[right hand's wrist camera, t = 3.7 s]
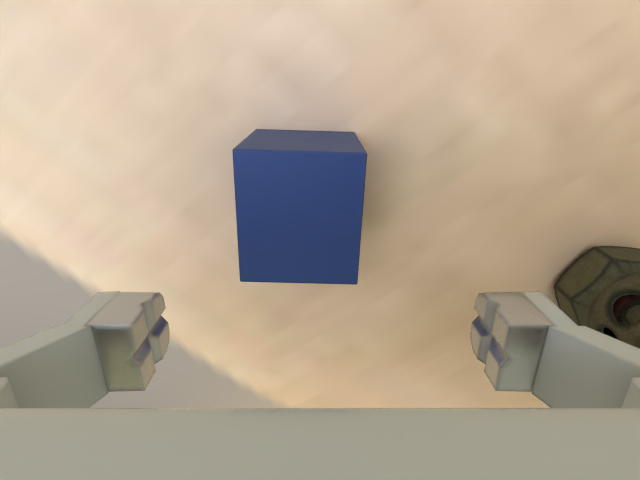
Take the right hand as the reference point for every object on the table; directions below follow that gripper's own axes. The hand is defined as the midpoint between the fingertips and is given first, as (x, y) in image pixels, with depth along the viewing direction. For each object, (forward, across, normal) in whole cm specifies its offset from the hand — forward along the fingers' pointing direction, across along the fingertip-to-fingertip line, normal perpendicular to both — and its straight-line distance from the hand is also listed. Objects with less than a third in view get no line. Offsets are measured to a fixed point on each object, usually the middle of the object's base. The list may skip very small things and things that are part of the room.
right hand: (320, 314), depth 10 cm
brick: (+9, -1, +1) cm, 9 cm away
